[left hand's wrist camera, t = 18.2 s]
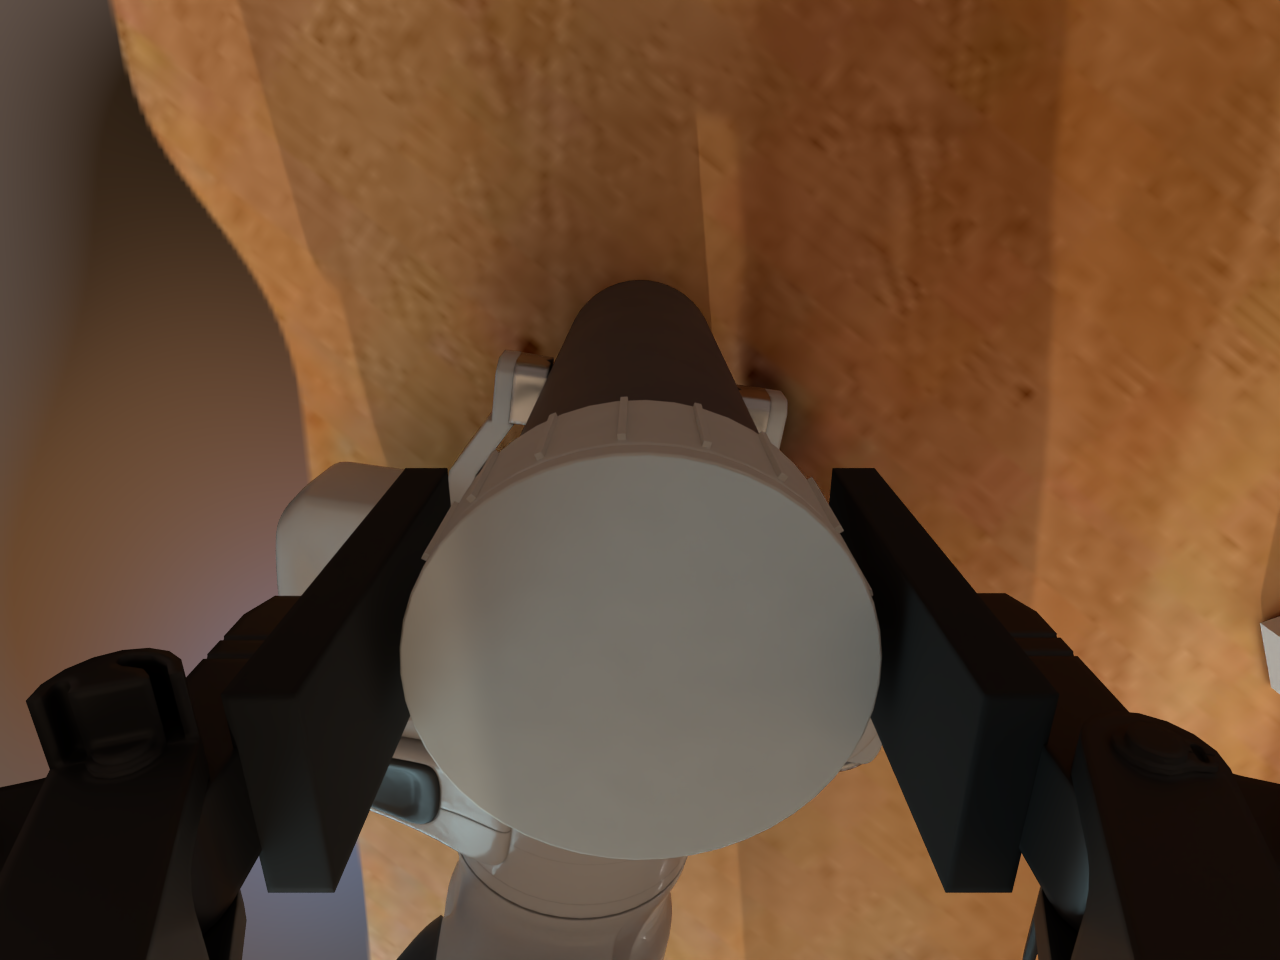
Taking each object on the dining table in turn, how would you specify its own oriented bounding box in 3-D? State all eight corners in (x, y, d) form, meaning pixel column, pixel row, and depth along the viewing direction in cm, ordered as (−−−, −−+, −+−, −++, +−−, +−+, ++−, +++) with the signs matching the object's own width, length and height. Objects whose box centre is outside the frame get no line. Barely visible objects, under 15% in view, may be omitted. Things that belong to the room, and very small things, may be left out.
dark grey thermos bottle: (628, 452, 31) (612, 862, 12) (536, 343, 29) (356, 626, 11) (742, 366, 29) (916, 679, 11) (652, 247, 28) (677, 379, 9)
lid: (868, 712, 13) (914, 820, 11) (507, 782, 14) (482, 898, 12) (808, 349, 11) (852, 393, 9) (379, 451, 12) (316, 516, 9)
